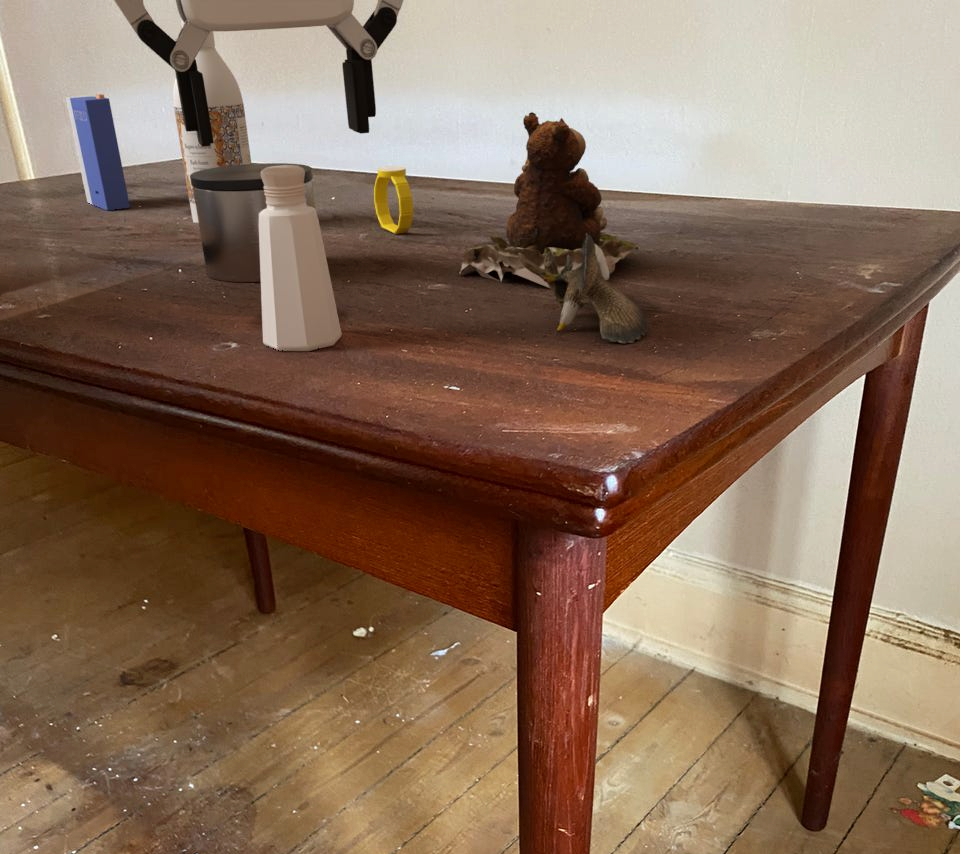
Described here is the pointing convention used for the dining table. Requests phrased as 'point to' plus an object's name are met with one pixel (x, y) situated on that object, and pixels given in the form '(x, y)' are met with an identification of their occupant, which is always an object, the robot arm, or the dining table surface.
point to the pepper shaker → (293, 267)
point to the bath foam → (214, 120)
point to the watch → (403, 194)
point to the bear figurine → (549, 209)
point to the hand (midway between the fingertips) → (283, 137)
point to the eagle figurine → (591, 293)
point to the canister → (234, 218)
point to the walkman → (98, 151)
